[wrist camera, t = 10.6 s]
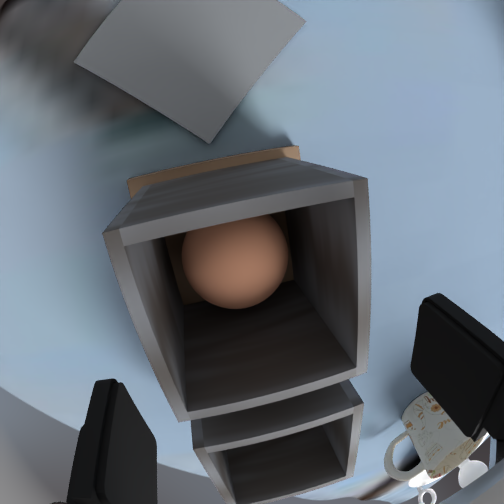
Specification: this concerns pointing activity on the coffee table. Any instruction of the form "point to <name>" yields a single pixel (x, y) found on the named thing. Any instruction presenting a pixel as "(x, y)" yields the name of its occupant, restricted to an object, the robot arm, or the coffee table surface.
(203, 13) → the mat
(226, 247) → the ball
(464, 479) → the candlestick
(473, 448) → the mug
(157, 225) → the dark grey boxy container
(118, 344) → the coffee table surface
